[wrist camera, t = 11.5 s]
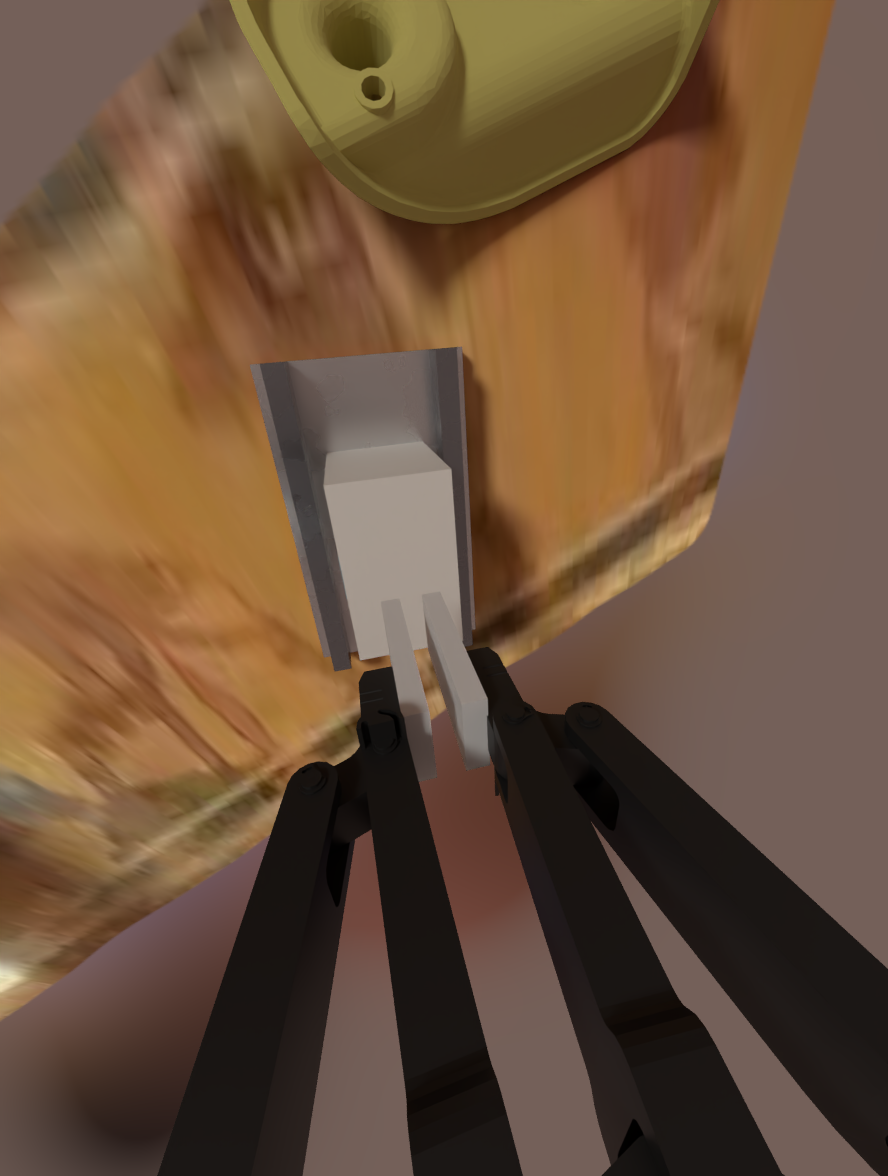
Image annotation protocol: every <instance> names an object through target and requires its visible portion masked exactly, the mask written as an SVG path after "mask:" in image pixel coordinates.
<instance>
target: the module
mask: <svg viewBox="0 0 888 1176" xmlns="http://www.w3.org/2000/svg"><path fill="white" fill-rule="evenodd" d="M324 490H325V495H326V500H327V505H328V509H329V514H330V519H331V524H332V529H333V533H334V538H335V543H336V548H337V552H338V560H339V565H340V569H341V574H342V579H343V584H344V588H345V593H346V598H347V600H348V605H349V610H350V614H351V619H352V624H353V629H354V634H355V638H356V643H357V648H358V653H359V657H360V660H365V659H370V658H375V657H381V656H386V655H390V654H389V648H388V642H387V636H386V630H385V624H384V618H383V612H382V606H381V601H387V600H393V599H400V602H401V606H402V610H403V614H404V618H405V621H406V625H407V629H408V633H409V637H410V640H411V644H412V648H413V650H417V649H422V648H428V645H427V636H426V627H425V618H424V610H423V601H422V594H428V593H434V592H440V593H441V595H442V597H443V600H444V602H445V604H446V606H447V609H448V611H449V613H450V615H451V618H452V620H453V622H454V624H455V627H456V629H457V631H458V633H459V635H460V638H461V640H462V641H463V633H462V618H461V604H460V589H459V574H458V560H457V545H456V530H455V515H454V501H453V486H452V471H451V468H450V467H449V466H448V465H447V464H446V463H445V462H444V461H443V460H442V459H440V458H439V457H438V456H437V455H436V454H435V453H434V452H433V451H432V450H431V449H430V448H429V447H428V446H427V445H426V444H425V443H424V442H423V441H422V442H413V443H405V444H396V445H388V446H380V447H371V448H363V449H354V450H346V451H338V452H329V453H327V455H326V465H325V475H324Z"/></svg>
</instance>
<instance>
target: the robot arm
mask: <svg viewBox="0 0 888 1176" xmlns="http://www.w3.org/2000/svg"><path fill="white" fill-rule="evenodd" d="M422 601H423V610H424V618H425V627H426V636H427V645H428V651H429V654H430V657H431V660H432V663H433V666H434V670H435V673H436V676H437V679H438V682H439V685H440V689H441V692H442V695H443V698H444V701H445V704H446V708H447V711H448V714H449V717H450V720H451V723H452V726H453V729H454V733H455V736H456V739H457V742H458V745H459V749H460V751H461V755H462V758H463V761H464V764H465V768H466V771H467V770H471V769H475V768H479V767H484V766H488V765H490V756H491V759H492V762H493V764H494V770H495V795H496V796H498V795H499V793H500V796H501V800H502V803H503V806H504V809H505V812H506V815H507V818H508V821H509V825H510V828H511V831H512V834H513V837H514V841H515V844H516V847H517V850H518V853H519V856H520V860H521V863H522V866H523V869H524V872H525V875H526V879H527V882H528V885H529V888H530V891H531V894H532V898H533V901H534V904H535V907H536V910H537V913H538V917H539V920H540V923H541V926H542V929H543V932H544V936H545V939H546V942H547V945H548V948H549V951H550V954H551V957H552V961H553V964H554V967H555V970H556V973H557V976H558V980H559V983H560V986H561V989H562V993H563V995H564V999H565V1002H566V1005H567V1008H568V1011H569V1015H570V1018H571V1021H572V1024H573V1027H574V1030H575V1034H576V1037H577V1040H578V1043H579V1046H580V1049H581V1053H582V1056H583V1059H584V1062H585V1065H586V1069H587V1072H588V1076H589V1079H590V1084H591V1088H592V1094H593V1099H594V1105H595V1110H596V1115H597V1119H598V1123H599V1127H600V1130H601V1134H602V1137H603V1141H604V1144H605V1147H606V1150H607V1154H608V1157H609V1160H610V1163H611V1167H609V1169H608V1170H607V1171H606V1172H605V1173H604V1174H603V1175H602V1176H784V1175H783V1174H782V1173H781V1171H780V1169H779V1167H778V1165H777V1163H776V1161H775V1159H774V1157H773V1155H772V1153H771V1152H770V1150H769V1148H768V1146H767V1144H766V1142H765V1140H764V1138H763V1136H762V1134H761V1132H760V1130H759V1128H758V1126H757V1124H756V1122H755V1120H754V1118H753V1117H752V1115H751V1113H750V1111H749V1109H748V1107H747V1105H746V1103H745V1101H744V1099H743V1097H742V1095H741V1093H740V1091H739V1089H738V1087H737V1086H736V1083H735V1082H734V1080H733V1078H732V1076H731V1074H730V1072H729V1070H728V1068H727V1066H726V1064H725V1062H724V1060H723V1058H722V1056H721V1054H720V1052H719V1050H718V1049H717V1047H716V1045H715V1043H714V1041H713V1039H712V1038H711V1036H710V1034H709V1032H708V1031H707V1029H706V1027H705V1026H704V1025H703V1023H702V1022H701V1021H700V1020H699V1018H698V1017H697V1015H696V1014H695V1013H693V1012H692V1011H690V1010H689V1009H688V1008H686V1007H685V1006H684V1005H683V1004H682V1003H681V1001H680V1000H679V998H678V997H677V995H676V993H675V991H674V990H673V988H672V986H671V984H670V981H669V979H668V977H667V975H666V973H665V971H664V969H663V967H662V965H661V963H660V961H659V959H658V957H657V955H656V953H655V951H654V949H653V947H652V945H651V943H650V941H649V939H648V937H647V935H646V933H645V931H644V929H643V927H642V925H641V923H640V921H639V919H638V917H637V915H636V912H635V911H634V908H633V906H632V904H631V902H630V900H629V898H628V896H627V894H626V892H625V890H624V888H623V886H622V884H621V882H620V880H619V878H618V876H617V874H616V872H615V870H614V868H613V866H612V864H611V862H610V860H609V858H608V856H607V854H606V852H605V849H604V847H603V845H602V844H601V841H600V839H599V838H598V835H597V833H596V831H595V829H594V827H593V825H592V823H593V824H594V826H595V827H596V828H597V829H598V831H599V832H600V833H601V834H602V836H603V837H604V838H605V839H606V841H607V842H608V843H609V845H610V846H611V847H612V848H613V850H614V851H615V852H616V853H617V855H618V856H619V857H620V858H621V860H622V861H623V862H624V864H625V865H626V866H627V868H628V869H629V870H630V871H631V873H632V874H633V875H634V876H635V878H636V879H637V880H638V881H639V883H640V884H641V885H642V887H643V888H644V889H645V890H646V892H647V893H648V894H649V896H650V897H651V898H652V899H653V901H654V902H655V903H656V904H657V906H658V907H659V908H660V910H661V911H662V912H663V913H664V915H665V916H666V917H667V918H668V920H669V921H670V922H671V923H672V925H673V926H674V927H675V929H676V930H677V931H678V932H679V933H680V935H681V936H682V937H683V939H684V940H685V941H686V943H687V944H688V945H689V946H690V948H691V949H692V950H693V951H694V953H695V954H696V955H697V957H698V958H699V959H700V960H701V962H702V963H703V964H704V965H705V967H706V968H707V969H708V971H709V972H710V973H711V974H712V976H713V977H714V978H715V979H716V981H717V982H718V983H719V984H720V986H721V987H722V988H723V989H724V991H725V992H726V993H727V995H728V996H729V997H730V999H731V1000H732V1001H733V1002H734V1003H735V1005H736V1006H737V1007H738V1009H739V1010H740V1011H741V1012H742V1014H743V1015H744V1016H745V1018H746V1019H747V1020H748V1021H749V1023H750V1024H751V1025H752V1026H753V1028H754V1029H755V1030H756V1032H757V1033H758V1034H759V1035H760V1037H761V1038H762V1039H763V1040H764V1042H765V1043H766V1044H767V1045H768V1047H769V1048H770V1049H771V1051H772V1052H773V1053H774V1054H775V1056H776V1057H777V1058H778V1059H779V1061H780V1062H781V1063H782V1065H783V1066H784V1067H785V1068H786V1070H787V1071H788V1072H789V1073H790V1075H791V1076H792V1077H793V1079H794V1080H795V1081H796V1082H797V1084H798V1085H799V1086H800V1087H801V1089H802V1090H803V1091H804V1092H805V1094H806V1095H807V1096H808V1097H809V1098H810V1100H811V1101H812V1102H813V1103H814V1104H815V1105H816V1107H817V1108H818V1109H819V1110H820V1111H821V1113H822V1114H823V1115H824V1116H825V1118H826V1119H827V1120H828V1121H829V1122H830V1123H831V1125H832V1126H833V1127H834V1128H835V1129H836V1130H837V1131H838V1133H839V1134H840V1135H841V1136H842V1137H843V1138H844V1139H845V1140H846V1141H847V1142H848V1143H849V1144H850V1145H851V1146H852V1147H853V1148H854V1149H855V1151H856V1152H857V1153H858V1154H859V1155H860V1156H861V1157H862V1158H863V1159H864V1160H865V1161H866V1162H867V1163H868V1164H869V1166H870V1167H871V1168H872V1169H873V1170H874V1171H876V1173H878V1174H879V1175H880V1176H888V969H887V968H886V967H885V966H884V965H883V964H882V963H881V962H880V961H879V960H877V959H876V958H875V957H874V956H873V955H872V954H871V953H870V952H869V951H867V949H866V948H864V947H863V946H862V945H861V944H860V943H859V942H858V941H857V940H856V939H855V938H853V936H851V935H850V934H849V933H848V932H847V931H846V930H845V929H844V928H843V927H841V926H840V925H839V924H838V923H837V922H836V921H835V920H834V919H833V918H832V917H831V916H830V915H829V914H827V913H826V912H825V911H824V910H823V909H822V908H821V907H820V906H819V905H818V904H817V903H816V902H814V901H813V900H812V899H811V898H810V897H809V896H808V895H807V894H806V893H805V892H803V891H802V890H801V889H800V888H799V887H798V886H797V885H796V884H795V883H794V882H793V881H792V880H791V879H789V878H788V877H787V876H786V875H785V874H784V873H783V872H782V871H781V870H780V869H779V868H778V867H776V866H775V865H774V864H773V863H772V862H771V861H770V860H769V859H768V858H766V856H764V855H763V854H762V853H761V852H760V851H759V850H758V849H757V848H756V847H755V846H754V845H753V844H751V843H750V842H749V841H748V840H747V839H746V838H745V837H744V836H743V835H742V834H741V833H740V832H738V831H737V830H736V829H735V828H734V827H733V826H732V825H731V824H730V823H729V822H728V821H727V820H725V819H724V818H723V817H722V816H721V815H720V814H719V813H718V812H717V811H716V810H715V809H713V808H712V807H711V806H710V805H709V804H708V803H707V802H706V801H705V800H704V799H703V798H701V797H700V796H699V795H698V794H697V793H696V792H695V791H694V790H693V789H692V788H691V787H689V786H688V785H687V784H686V783H685V782H684V781H683V780H682V779H681V778H680V777H679V776H678V775H677V774H675V773H674V772H673V771H672V770H671V769H670V768H669V767H668V766H667V765H666V764H665V763H664V762H662V761H661V760H660V759H659V758H658V757H657V756H656V755H655V754H654V753H653V752H652V751H650V750H649V749H648V748H647V747H646V746H645V745H644V744H643V743H642V742H641V741H639V740H638V739H637V738H636V737H635V736H634V735H633V734H632V733H631V732H630V731H629V730H628V729H626V728H625V727H624V726H623V725H622V724H621V723H620V722H619V721H618V720H617V719H616V718H615V717H614V716H612V715H611V714H610V713H609V712H608V711H607V710H606V709H604V708H603V707H601V706H599V705H596V704H593V703H588V702H580V703H576V704H573V705H572V706H570V707H568V709H567V711H566V713H565V715H559V714H546V713H541V712H538V711H536V710H535V709H534V708H533V707H532V706H531V705H530V704H528V703H526V702H524V701H523V700H522V698H521V696H520V694H519V692H518V690H517V689H516V687H515V685H514V683H513V681H512V679H511V678H510V676H509V674H508V673H507V670H506V668H505V667H504V665H503V663H502V661H501V659H500V657H499V656H498V654H497V653H495V652H494V651H493V650H491V649H490V648H488V647H485V648H480V649H474V650H469V651H466V649H465V647H464V644H463V642H462V640H461V638H460V635H459V633H458V631H457V629H456V627H455V624H454V622H453V620H452V618H451V615H450V613H449V611H448V609H447V606H446V604H445V602H444V600H443V597H442V595H441V593H440V592H434V593H428V594H422ZM381 606H382V612H383V618H384V624H385V630H386V636H387V642H388V648H389V654H390V660H391V665H392V667H386V668H381V669H376V670H371V671H366V672H364V673H363V675H362V677H361V679H360V681H359V693H360V707H361V717H360V719H359V720H358V722H357V728H356V730H357V734H358V739H359V743H360V747H359V748H358V750H357V751H356V752H355V753H354V754H353V755H352V756H351V757H350V758H348V759H347V760H345V761H343V762H341V763H339V764H337V765H335V766H332V765H331V764H329V763H327V762H314V763H310V764H307V765H305V766H304V767H302V768H300V769H299V770H298V771H297V772H296V773H294V774H293V775H292V777H291V779H290V780H289V782H288V784H287V787H286V790H285V793H284V796H283V799H282V802H281V805H280V808H279V811H278V814H277V817H276V820H275V823H274V826H273V829H272V832H271V835H270V838H269V841H268V844H267V847H266V850H265V853H264V856H263V860H262V862H261V866H260V868H259V871H258V874H257V877H256V880H255V884H254V887H253V889H252V893H251V896H250V899H249V902H248V905H247V908H246V911H245V914H244V917H243V920H242V923H241V926H240V929H239V932H238V935H237V938H236V941H235V944H234V947H233V950H232V953H231V956H230V959H229V962H228V965H227V968H226V971H225V974H224V977H223V980H222V983H221V986H220V989H219V992H218V995H217V998H216V1001H215V1004H214V1007H213V1010H212V1013H211V1016H210V1019H209V1022H208V1025H207V1028H206V1031H205V1034H204V1037H203V1040H202V1043H201V1046H200V1049H199V1052H198V1055H197V1058H196V1061H195V1064H194V1067H193V1071H192V1073H191V1076H190V1079H189V1082H188V1085H187V1088H186V1091H185V1094H184V1097H183V1100H182V1103H181V1106H180V1109H179V1112H178V1115H177V1118H176V1121H175V1124H174V1127H173V1130H172V1133H171V1136H170V1140H169V1142H168V1145H167V1148H166V1151H165V1154H164V1157H163V1160H162V1163H161V1166H160V1169H159V1172H158V1175H157V1176H302V1175H303V1168H304V1162H305V1156H306V1149H307V1143H308V1137H309V1130H310V1123H311V1117H312V1111H313V1104H314V1098H315V1092H316V1085H317V1079H318V1073H319V1066H320V1060H321V1053H322V1047H323V1041H324V1035H325V1028H326V1021H327V1015H328V1009H329V1003H330V996H331V990H332V984H333V977H334V970H335V964H336V958H337V951H338V945H339V938H340V933H341V926H342V920H343V913H344V906H345V901H346V894H347V888H348V882H349V875H350V869H351V862H352V855H353V849H354V843H355V839H356V838H358V837H359V836H361V835H363V834H364V833H366V832H368V831H369V830H371V829H372V836H373V843H374V851H375V859H376V866H377V874H378V882H379V890H380V897H381V905H382V912H383V920H384V928H385V935H386V942H387V951H388V959H389V966H390V974H391V982H392V989H393V997H394V1005H395V1012H396V1020H397V1028H398V1035H399V1043H400V1051H401V1058H402V1065H403V1073H404V1081H405V1089H406V1098H407V1121H408V1133H409V1141H410V1150H411V1158H412V1166H413V1174H414V1176H523V1174H522V1171H521V1167H520V1163H519V1159H518V1155H517V1151H516V1148H515V1144H514V1140H513V1136H512V1132H511V1128H510V1125H509V1121H508V1117H507V1113H506V1110H505V1106H504V1102H503V1098H502V1095H501V1091H500V1088H499V1084H498V1081H497V1078H496V1075H495V1072H494V1070H493V1067H492V1065H491V1061H490V1058H489V1054H488V1050H487V1046H486V1042H485V1038H484V1034H483V1031H482V1027H481V1023H480V1019H479V1015H478V1011H477V1007H476V1003H475V999H474V996H473V992H472V988H471V984H470V980H469V976H468V972H467V968H466V964H465V960H464V957H463V953H462V949H461V945H460V941H459V937H458V933H457V929H456V925H455V921H454V918H453V914H452V910H451V906H450V902H449V898H448V894H447V891H446V886H445V883H444V879H443V875H442V871H441V867H440V863H439V859H438V856H437V852H436V847H435V844H434V840H433V836H432V832H431V828H430V824H429V820H428V817H427V813H426V809H425V805H424V801H423V797H422V793H421V789H420V785H419V782H420V781H424V780H428V779H433V778H437V772H436V763H435V755H434V747H433V739H432V731H431V722H430V714H429V709H428V705H427V701H426V697H425V693H424V690H423V686H422V682H421V678H420V675H419V671H418V667H417V663H416V659H415V656H414V652H413V648H412V644H411V640H410V637H409V633H408V629H407V625H406V621H405V618H404V614H403V610H402V606H401V602H400V599H393V600H387V601H381ZM591 822H592V823H591Z"/></svg>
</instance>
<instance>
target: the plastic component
mask: <svg viewBox="0 0 888 1176" xmlns="http://www.w3.org/2000/svg"><path fill="white" fill-rule="evenodd" d="M230 3H231V5H232V8H233V11H234V13H235V16H236V18H237V21H238V23H239V25H240V27H241V29H242V31H243V33H244V35H245V37H246V39H247V41H248V42H249V44H250V46H251V48H252V50H253V52H254V53H255V55H256V57H257V59H258V60H259V62H260V64H261V66H262V67H263V69H264V71H265V73H266V74H267V76H268V78H269V80H270V81H271V83H272V85H273V87H274V89H275V90H276V92H277V94H278V96H279V98H280V100H281V101H282V103H283V105H284V107H285V109H286V111H287V112H288V114H289V116H290V118H291V119H292V121H293V123H294V124H295V126H296V127H297V129H298V131H299V132H300V134H301V135H302V137H303V138H304V140H305V141H306V143H307V144H308V146H309V147H310V149H311V150H312V151H313V153H314V154H315V155H316V157H317V158H318V159H319V160H320V162H321V163H322V164H323V165H324V166H325V167H326V168H327V169H328V170H329V171H330V172H331V173H332V174H333V175H334V176H335V177H336V178H337V179H338V180H339V181H340V182H341V183H342V184H343V185H344V186H346V187H347V188H348V189H349V190H350V191H352V192H353V193H354V194H355V195H357V196H358V197H359V198H361V199H363V200H364V201H366V202H368V203H370V204H371V205H373V206H375V207H376V208H379V209H381V210H383V211H385V212H388V213H390V214H392V215H395V216H398V217H402V218H405V219H409V220H412V221H418V222H424V223H430V224H457V223H463V222H469V221H475V220H479V219H483V218H486V217H490V216H493V215H496V214H498V213H501V212H504V211H507V210H509V209H512V208H514V207H516V206H518V205H520V204H522V203H524V202H526V201H528V200H530V199H532V198H533V197H535V196H537V195H539V194H541V193H543V192H545V191H547V190H549V189H551V188H553V187H555V186H557V185H558V184H560V183H562V182H564V181H566V180H568V179H570V178H572V177H574V176H576V175H578V174H580V173H582V172H583V171H585V170H587V169H589V168H591V167H593V166H595V165H597V164H599V163H601V162H603V161H605V160H606V159H608V158H610V157H612V156H614V155H616V154H618V153H620V152H622V151H624V150H626V149H628V148H629V147H631V146H632V145H633V144H634V143H635V142H637V141H638V140H639V139H640V138H642V137H643V136H644V135H645V133H646V132H647V131H648V130H649V129H650V128H651V127H652V126H653V125H654V124H655V123H656V122H657V120H658V119H659V118H660V117H661V115H662V114H663V113H664V112H665V110H666V109H667V107H668V106H669V104H670V103H671V102H672V100H673V99H674V97H675V96H676V94H677V92H678V91H679V89H680V87H681V85H682V83H683V82H684V80H685V78H686V76H687V74H688V71H689V69H690V67H691V64H692V62H693V60H694V58H695V55H696V53H697V51H698V48H699V46H700V44H701V42H702V39H703V37H704V35H705V32H706V30H707V28H708V26H709V23H710V21H711V19H712V16H713V14H714V12H715V10H716V7H717V5H718V3H719V0H230Z"/></svg>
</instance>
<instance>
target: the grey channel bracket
mask: <svg viewBox="0 0 888 1176" xmlns="http://www.w3.org/2000/svg"><path fill="white" fill-rule="evenodd" d="M250 368H251V371H252V375H253V379H254V383H255V387H256V391H257V395H258V399H259V403H260V407H261V411H262V415H263V419H264V423H265V426H266V430H267V434H268V438H269V442H270V446H271V450H272V454H273V458H274V462H275V466H276V470H277V474H278V478H279V482H280V485H281V489H282V493H283V497H284V501H285V505H286V509H287V513H288V517H289V521H290V525H291V529H292V533H293V537H294V541H295V544H296V548H297V552H298V556H299V560H300V564H301V568H302V572H303V576H304V580H305V584H306V588H307V592H308V596H309V599H310V603H311V607H312V611H313V615H314V619H315V623H316V627H317V631H318V635H319V639H320V643H321V647H322V651H323V655H324V657H329V656H331V658H332V662H333V666H334V670H335V671H340V670H345V669H350V668H351V652H356V651H358V648H357V643H356V638H355V634H354V629H353V624H352V619H351V614H350V610H349V605H348V600H347V598H346V593H345V588H344V584H343V579H342V574H341V569H340V565H339V560H338V552H337V548H336V543H335V538H334V533H333V529H332V524H331V519H330V514H329V509H328V505H327V500H326V495H325V490H324V475H325V465H326V455H327V453H329V452H338V451H346V450H354V449H363V448H371V447H380V446H388V445H396V444H405V443H413V442H422V441H423V442H424V443H425V444H426V445H427V446H428V447H429V448H430V449H431V450H432V451H433V452H434V453H435V454H436V455H437V456H438V457H439V458H440V459H442V460H443V461H444V462H445V463H446V464H447V465H448V466H449V467H450V468H451V471H452V486H453V501H454V515H455V530H456V545H457V560H458V574H459V589H460V604H461V618H462V633H463V641H462V642H463V644H464V647H465V646H470V645H473V642H472V630H474V629H476V628H475V608H474V587H473V566H472V545H471V524H470V503H469V482H468V462H467V441H466V420H465V399H464V378H463V357H462V347H454V348H442V349H431V350H419V351H407V352H395V353H383V354H371V355H360V356H348V357H336V358H324V359H312V360H300V361H289V362H276V363H265V364H253V365H250Z"/></svg>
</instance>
